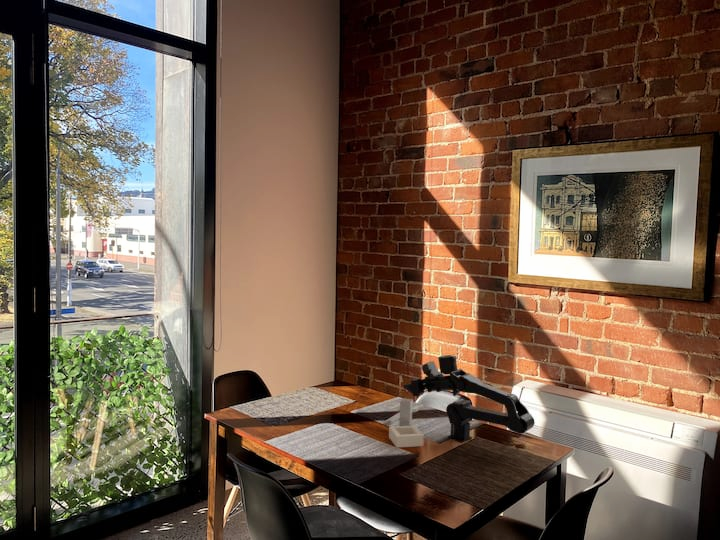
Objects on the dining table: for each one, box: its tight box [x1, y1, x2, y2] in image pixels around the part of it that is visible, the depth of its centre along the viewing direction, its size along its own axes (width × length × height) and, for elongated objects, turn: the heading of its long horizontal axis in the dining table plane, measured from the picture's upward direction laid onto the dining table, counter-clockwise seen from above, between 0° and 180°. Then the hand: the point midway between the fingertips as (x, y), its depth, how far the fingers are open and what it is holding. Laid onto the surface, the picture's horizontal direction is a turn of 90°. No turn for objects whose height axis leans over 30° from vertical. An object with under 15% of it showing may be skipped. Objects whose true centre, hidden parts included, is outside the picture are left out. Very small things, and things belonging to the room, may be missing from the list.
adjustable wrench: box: [385, 405, 419, 426], centre depth 242 cm, size 25×6×2 cm, turn 146°
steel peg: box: [398, 397, 414, 426], centre depth 225 cm, size 4×4×12 cm
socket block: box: [388, 425, 425, 448], centre depth 214 cm, size 10×10×4 cm
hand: (410, 384), depth 233 cm, fingers open, 9 cm apart
